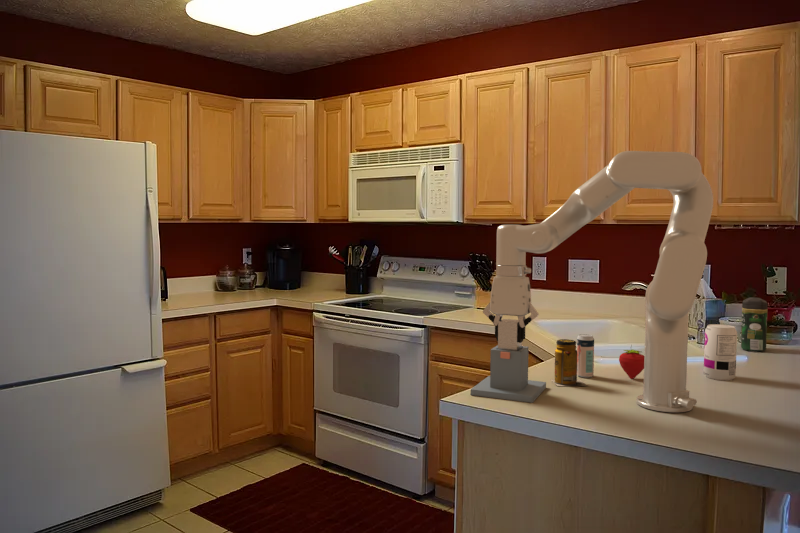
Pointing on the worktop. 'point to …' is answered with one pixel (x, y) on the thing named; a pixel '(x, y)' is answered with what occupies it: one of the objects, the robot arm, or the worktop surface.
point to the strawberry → (632, 362)
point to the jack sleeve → (509, 377)
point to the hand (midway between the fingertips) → (509, 340)
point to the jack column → (508, 335)
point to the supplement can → (720, 352)
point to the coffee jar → (754, 324)
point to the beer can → (585, 355)
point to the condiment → (566, 364)
